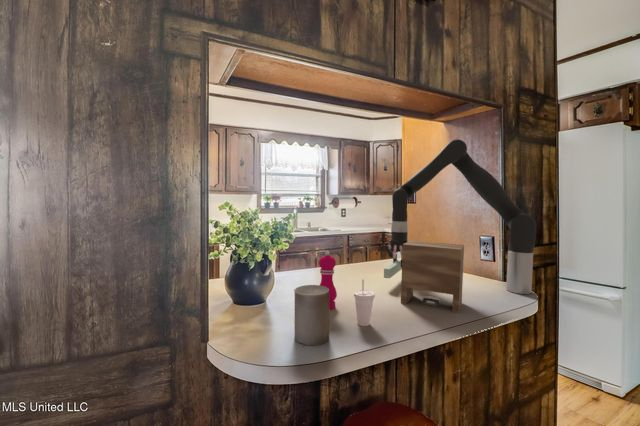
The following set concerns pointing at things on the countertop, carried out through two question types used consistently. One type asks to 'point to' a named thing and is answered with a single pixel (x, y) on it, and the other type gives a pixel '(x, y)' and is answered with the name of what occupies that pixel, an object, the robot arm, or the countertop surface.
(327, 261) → the pepper mill
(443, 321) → the countertop surface
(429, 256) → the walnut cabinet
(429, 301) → the steel puck
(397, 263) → the sage stick
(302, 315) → the pillar candle
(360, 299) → the smoothie
